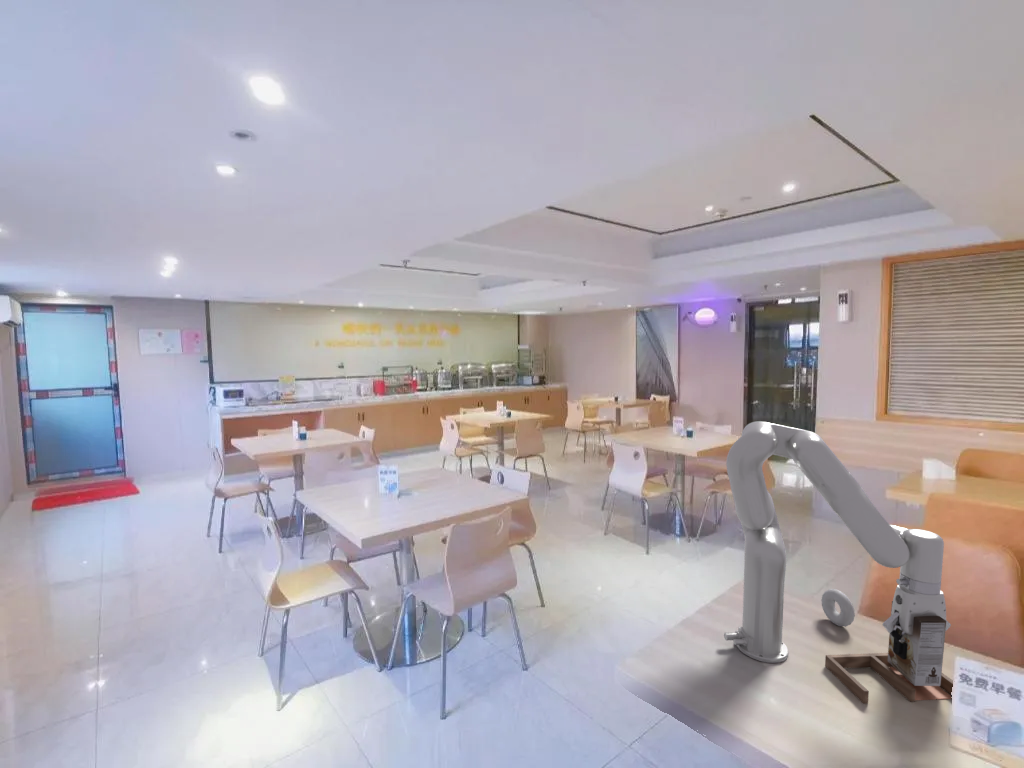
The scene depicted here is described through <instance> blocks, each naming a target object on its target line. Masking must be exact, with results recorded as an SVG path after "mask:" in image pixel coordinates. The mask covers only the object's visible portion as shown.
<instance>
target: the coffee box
mask: <svg viewBox="0 0 1024 768" xmlns="http://www.w3.org/2000/svg"><path fill="white" fill-rule="evenodd" d="M892 603H893V600H892V601H891V604H892ZM890 611H892V608H891V610H890ZM946 620H947V619H946ZM946 620H944V619H943V618H941V617H940V616H918V617H914V623H913V635H909V634H908V637H907V639H906V641H905V643H907V657H906V659H902V658H900V657H899V656H898V655H896V654H895V653H894V652H893V643H894V637H892V636H891V634H890V633H889V637H888V646H887V647H888V648H887V649H888V650H887V653H888V660H887V661H888V662H889V663H890V664H891V665H892V666H893V667H894V668H896V669H897V670H898V671H899V672H900V673H901V674H902V675H903V676H904V677H905V678H907V679H908V680H909V681H910V682H911V683H912V684H913V685H915V686H940V684H941V674H942V673H943V672H942V671H943V661H944V652H945V642H946V639H945V638H946V632H947V630H946ZM895 626H896V625H894V627H895ZM894 627H893V628H894ZM902 632H903V631H902V630H900V632H899V635H900V636H901V634H902Z"/></svg>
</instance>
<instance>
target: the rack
mask: <svg viewBox="0 0 1024 768" xmlns="http://www.w3.org/2000/svg"><path fill="white" fill-rule="evenodd" d="M887 660H888V652H874V653H873V652H872V653H871V652H870V653H846V654H845V653H844V654H826V655H825V659H824V666H825V668H826V669H827V670H828V671H829V672H830V673H831V674H832V675H833V676H835V678H836V679H838V680H839V681H840V683H842V684H843V685H844V687H846V689H848V690H849V691H850V693H852V694H853V695H854V696H855V697H856V698H857V699H858V700H859V701H860V702H861V703H863V704H864V705H865V704H866V705H867V704H869V694H870V693H869V690H868V689H867V688H866V687H865V686H864V685H862V683H861V682H859V680H857V679H856V678H855V677H854V676H853V675H852V674H851V673H850V672H849V671H847V670H846V669H859V668H860V669H861V668H863V669H864V668H865V669H866V668H869V669H871V670H873V671H874V672H875V673H876V674H877V675H879V677H881V678H882V679H883V680H884V681H885V682H887V684H889V685H890V686H892V687H893V688H894V690H896V691H897V692H898V693H900V694H901V695H902V696H903V697H904V698H905V699H906V700H908V701H909V702H910V703H915V702H916V701H928V700H929V701H931V700H932V701H933V700H934V701H935V700H936V699H937V700H952V699H951V692H952V687H953V681H954V680H953V679H951V678H950V677H948V676H947V675H946V674H944V673H943V672H942V674H941V684H940V686H915V685H913V684H912V683H911V682H910V681H909V680H908V679H907V678H905V677H904V676H903V675H902V674H901V673H900V672H899V671H898V670H897V669H896V668H894V667H893V666H892V665H891V664H890V663H889V662H888V661H887Z"/></svg>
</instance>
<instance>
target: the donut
mask: <svg viewBox="0 0 1024 768" xmlns="http://www.w3.org/2000/svg"><path fill="white" fill-rule="evenodd" d="M821 596H822V597H821V600H820V601H821V606H822V611H823V613H824V615H825V616H826V618H828V620H829V621H830V622H831V623H833V624H835V625H837V626H838V627H848V626H850V625H851V624H852V623H853V622H854V620H855V614H856V613H855V608H854V605H853V603H852V601H851V599H850V598H849V597H848V595H847V594H845V592H843V591H841V590H839V589H837V588H828V589H827V590H825V591H824V592H823V594H822V595H821ZM835 603H837V604H838V607H839V609H840V612H839V611H838V610H837V607H836V604H835Z"/></svg>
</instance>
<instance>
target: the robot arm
mask: <svg viewBox="0 0 1024 768" xmlns="http://www.w3.org/2000/svg"><path fill="white" fill-rule="evenodd" d="M773 455H774V456H778V457H783V458H787V459H791V460H792V461H793V462H794V464H795V465H796V466H797V467H798V469H799V470H800V471H801V472H802V473H803V475H804V476H805V477H806V478H807V480H809V482H810V483H811V485H812V486H813V487H814V488H815V489H816V491H817V492H818V493H819V494H820V496H821V497H822V498H823V500H824V501H825V502H826V503H827V504H828V506H829V507H830V508H831V510H832V511H833V512H834V513H835V514H836V515H837V516H838V517H839V519H841V521H842V522H843V523H844V524H845V527H847V528H848V529H849V531H850V532H851V533H852V535H853V536H854V537H855V538H856V540H857V541H858V542H859V544H860V545H861V546H862V547H863V548H864V549H865V551H866V552H867V553H868V555H869V556H870V557H871V558H872V560H874V561H875V562H876V563H877V564H879V565H880V566H883V567H885V568H889V569H891V568H892V569H896V568H899V578H897V579H896V580H895V581H896V584H897V586H896V588H895V590H894V591H895V592H894V595H893V599H892V601H893V603H892V602H891V609H892V611H891V610H890V611H891V612H890V616H888V618H887V619H886V620H885V621H883V622H882V627H884V629H885V630H886V631H887V632H888V633H889V634H891V636H892V637H894V643H893V652H894V653H895V654H896V655H898V656H899V657H900V658H902V659H906V657H907V643H905V641H906V639H907V637H908V634H909V635H913V623H914V617H918V616H940V617H941V618H943V619H944V620H946V631H948V629H949V628H951V626H952V624H951V623H950V622H949V621H948V620H947V605H946V598H945V594H944V592H943V591H942V590H941V587H942V576H943V563H944V562H943V561H944V549H945V542H944V539H943V538H942V537H941V536H940V535H939V534H938V533H935V532H932V531H930V530H925V529H919V528H906V527H902V526H897V525H893V524H889V522H888V521H887V519H886V518H885V517H884V516H883V515H882V513H881V512H880V511H879V510H878V508H877V507H876V505H874V502H872V500H871V498H870V497H869V496H868V494H867V491H865V490H864V488H863V487H862V485H861V484H860V482H859V481H858V480H857V479H856V478H855V477H854V475H853V474H852V473H851V472H850V471H849V470H848V469H847V467H846V466H845V465H844V463H842V461H841V459H839V458H838V456H837V455H836V454H835V453H834V451H833V450H832V449H831V448H830V447H829V445H828V444H827V443H826V442H825V441H824V439H823V438H822V437H821V436H820V435H819V434H817V433H816V432H814V431H810V430H807V429H801V428H796V427H791V426H788V425H787V426H786V425H782V424H776V423H771V422H767V421H761V420H758V421H757V420H756V421H752V422H749V423H748V424H746V426H745V427H744V428H743V429H742V432H741V436H740V437H739V438H738V439H736V441H735V442H734V443H733V444H732V446H730V449H729V451H728V453H727V456H726V464H725V465H726V472H727V477H728V481H729V486H730V490H731V494H732V498H733V503H734V510H735V515H736V516H737V518H738V520H739V521H740V524H741V528H742V531H743V536H744V555H743V556H744V561H743V562H744V563H743V565H744V567H743V597H742V600H743V601H742V602H743V603H742V624H741V626H738V627H737V628H738V629H737V630H735V632H729V631H728V632H724V633H723V637H724V640H725V641H733V642H732V643H733V645H735V646H736V647H737V649H738V650H739V651H740V652H742V654H744V655H745V656H747V657H749V658H751V659H753V660H756V661H759V662H764V663H771V664H775V663H781V662H784V661H786V660H787V659H788V657H789V648H788V646H787V645H786V644H785V642H783V627H784V626H783V622H784V621H783V620H784V603H785V602H784V600H785V599H784V598H785V597H784V596H785V580H786V571H787V552H786V545H785V543H784V538H783V534H782V531H781V527H780V523H779V519H778V515H777V512H776V508H775V504H774V499H773V497H772V494H771V493H770V492H769V491H768V488H767V484H766V478H765V476H764V475H765V474H764V471H763V465H764V463H765V461H766V460H768V459H769V458H770V457H771V456H773ZM894 625H896V626H895V627H894ZM893 627H894V628H893ZM900 630H902V631H903V632H902V634H901V636H900V635H899V632H900Z"/></svg>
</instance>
